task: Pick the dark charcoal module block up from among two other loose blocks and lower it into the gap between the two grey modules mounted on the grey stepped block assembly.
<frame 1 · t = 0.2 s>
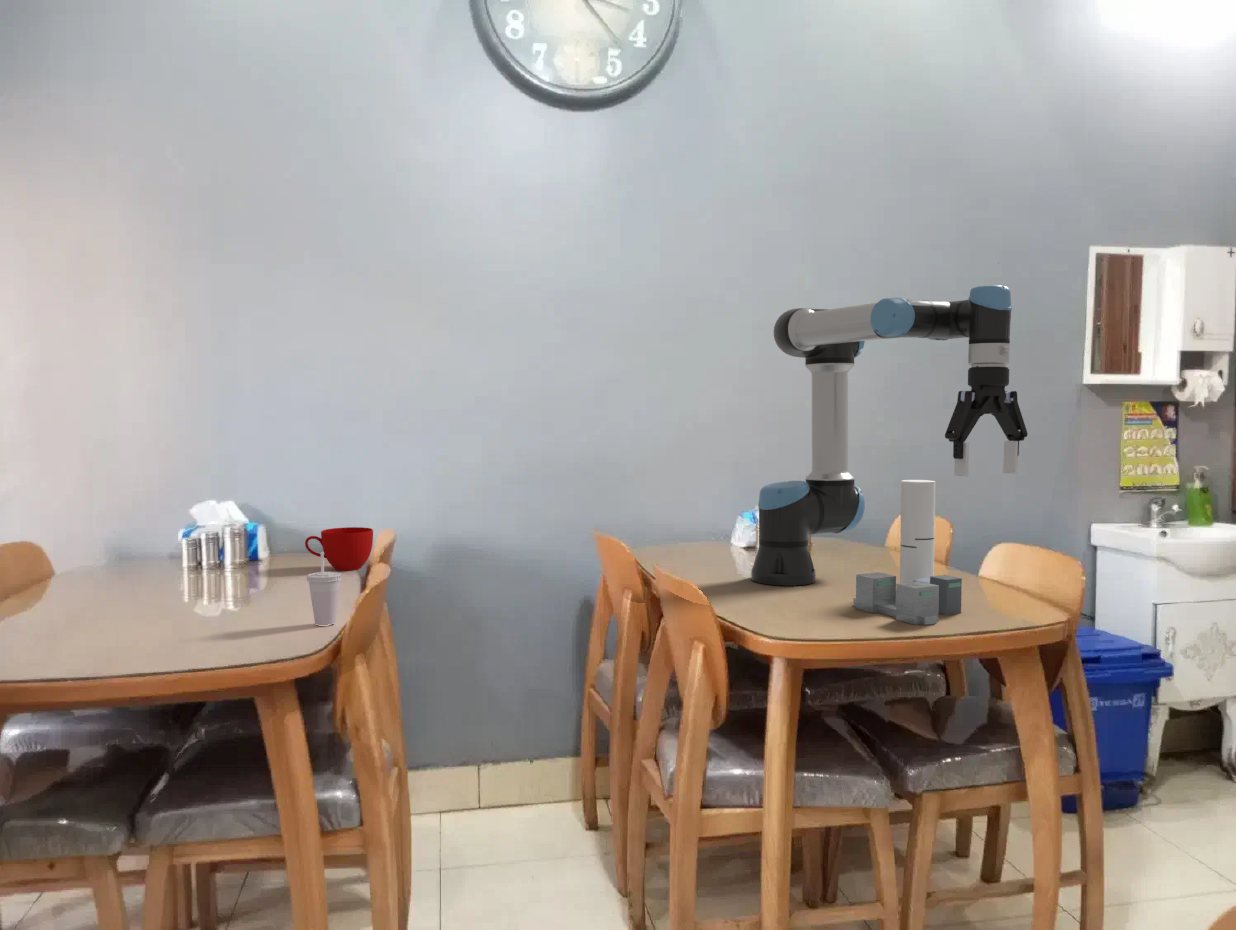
hand: (986, 474, 184), 28 cm above the table, fingers open, 13 cm apart
smoothie: (325, 625, 179), on the table
loose block white: (894, 605, 195), on the table
loose block slate: (930, 604, 196), on the table
module: (945, 611, 188), on the table
ceramic cup: (340, 569, 242), on the table
grey stepped block assembly: (893, 614, 186), on the table
cylindrical container: (916, 594, 206), on the table
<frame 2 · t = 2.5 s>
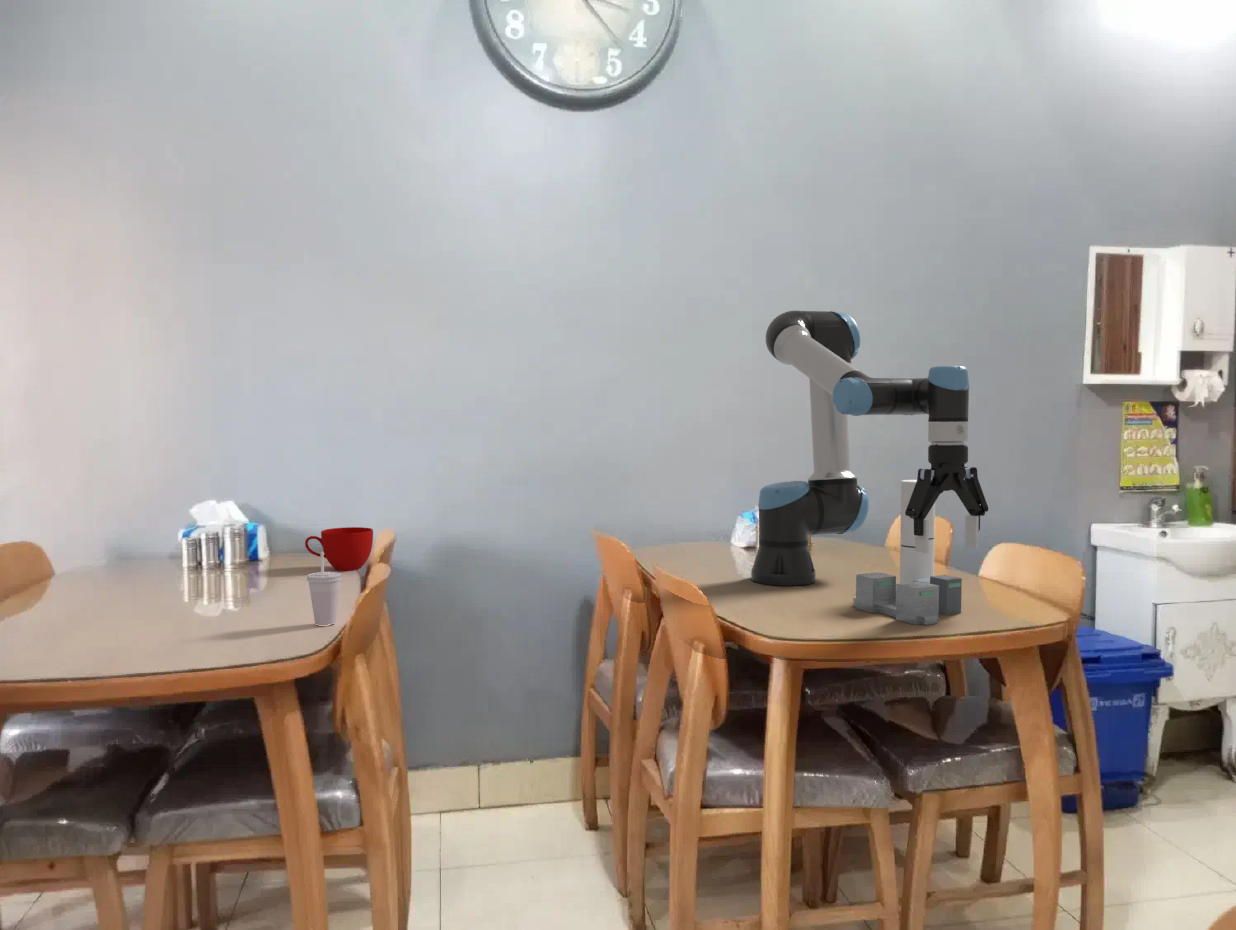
hand: (947, 549, 187), 13 cm above the table, fingers open, 13 cm apart
nothing on the table moved.
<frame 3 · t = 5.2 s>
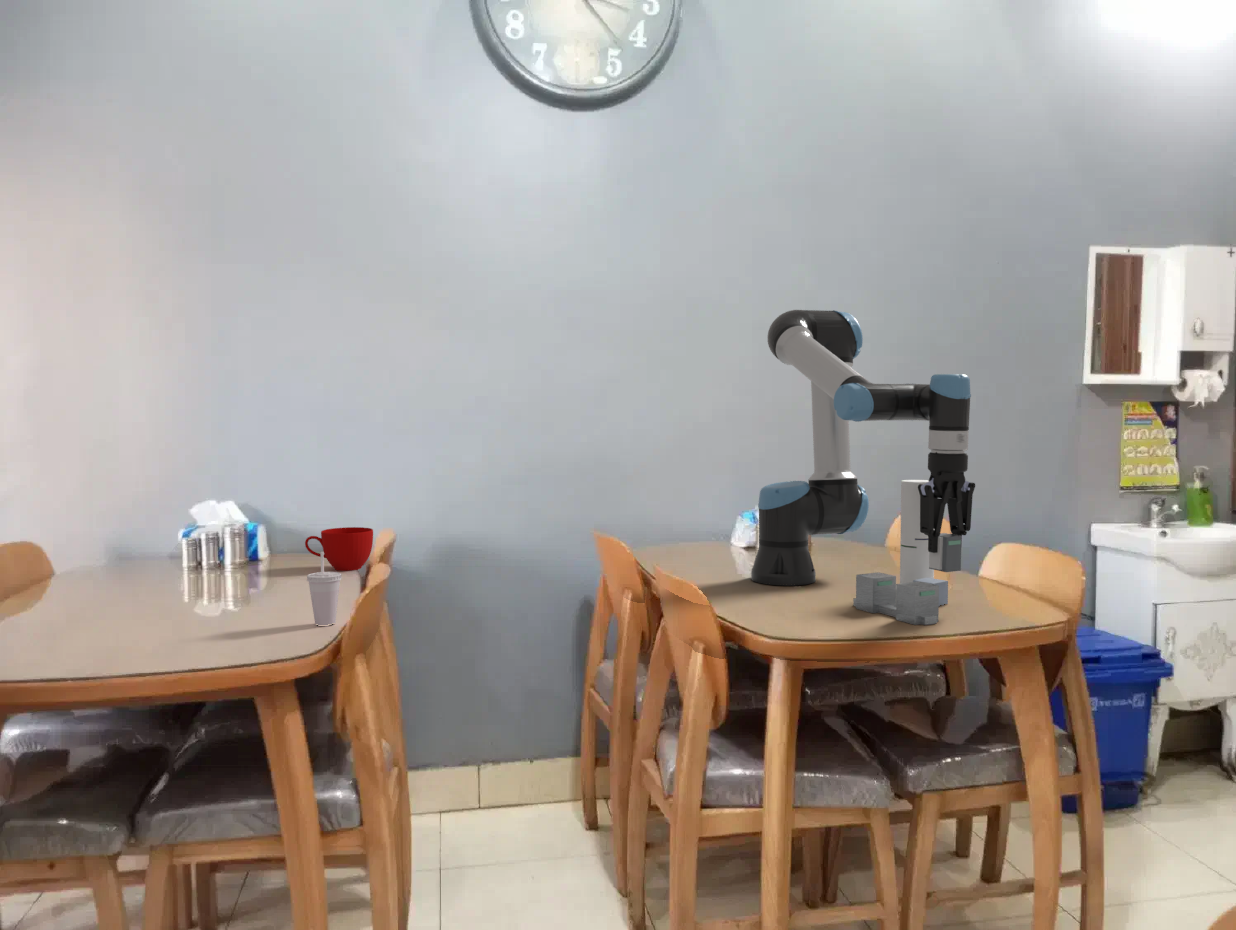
hand: (944, 567, 188), 9 cm above the table, fingers closed on module, 4 cm apart
module: (944, 569, 188), point 8 cm above the table, touching gripper
everything else where it was.
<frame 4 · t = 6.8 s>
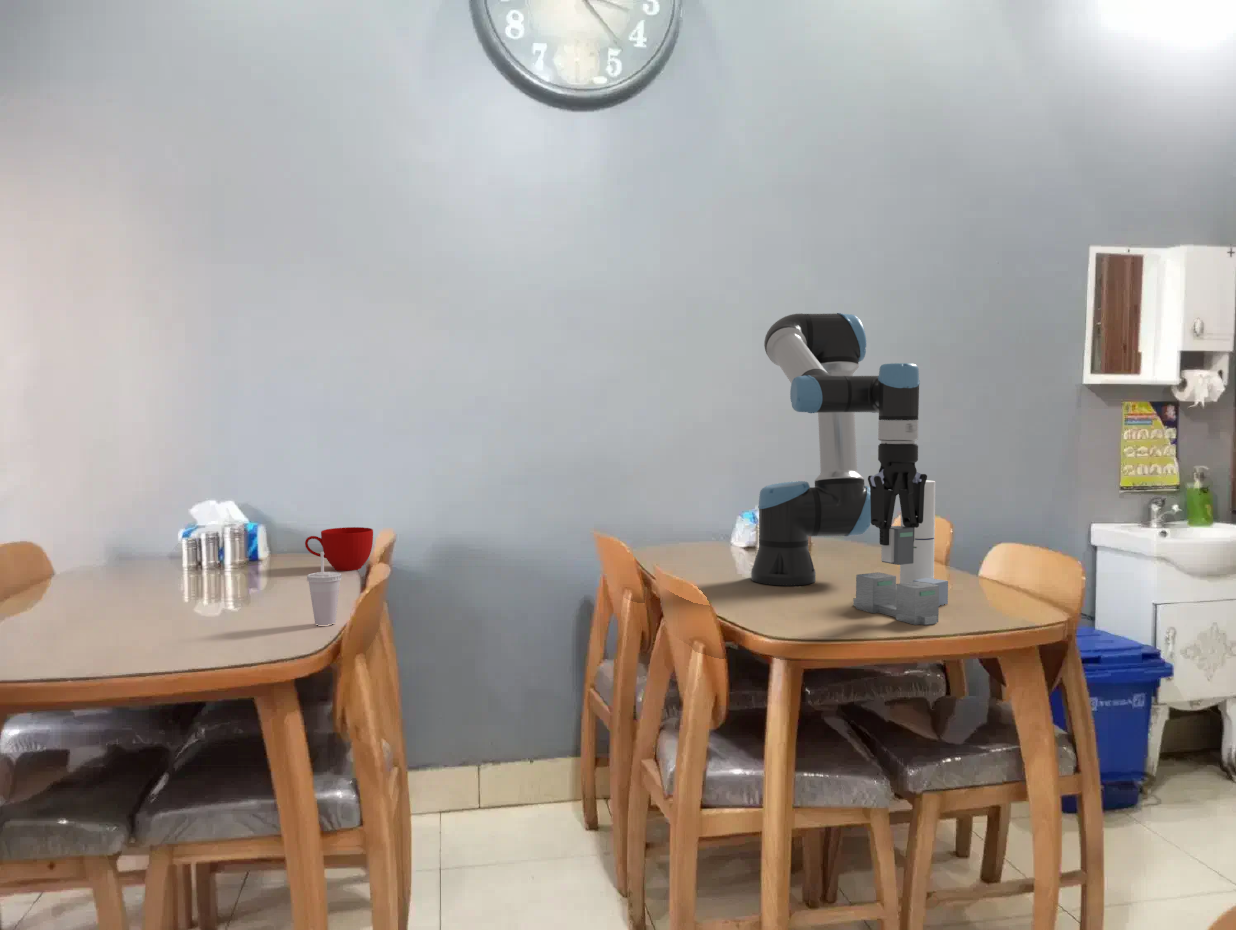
hand: (896, 560, 185), 11 cm above the table, fingers closed on module, 4 cm apart
module: (897, 562, 184), point 11 cm above the table, touching gripper
everything else where it was.
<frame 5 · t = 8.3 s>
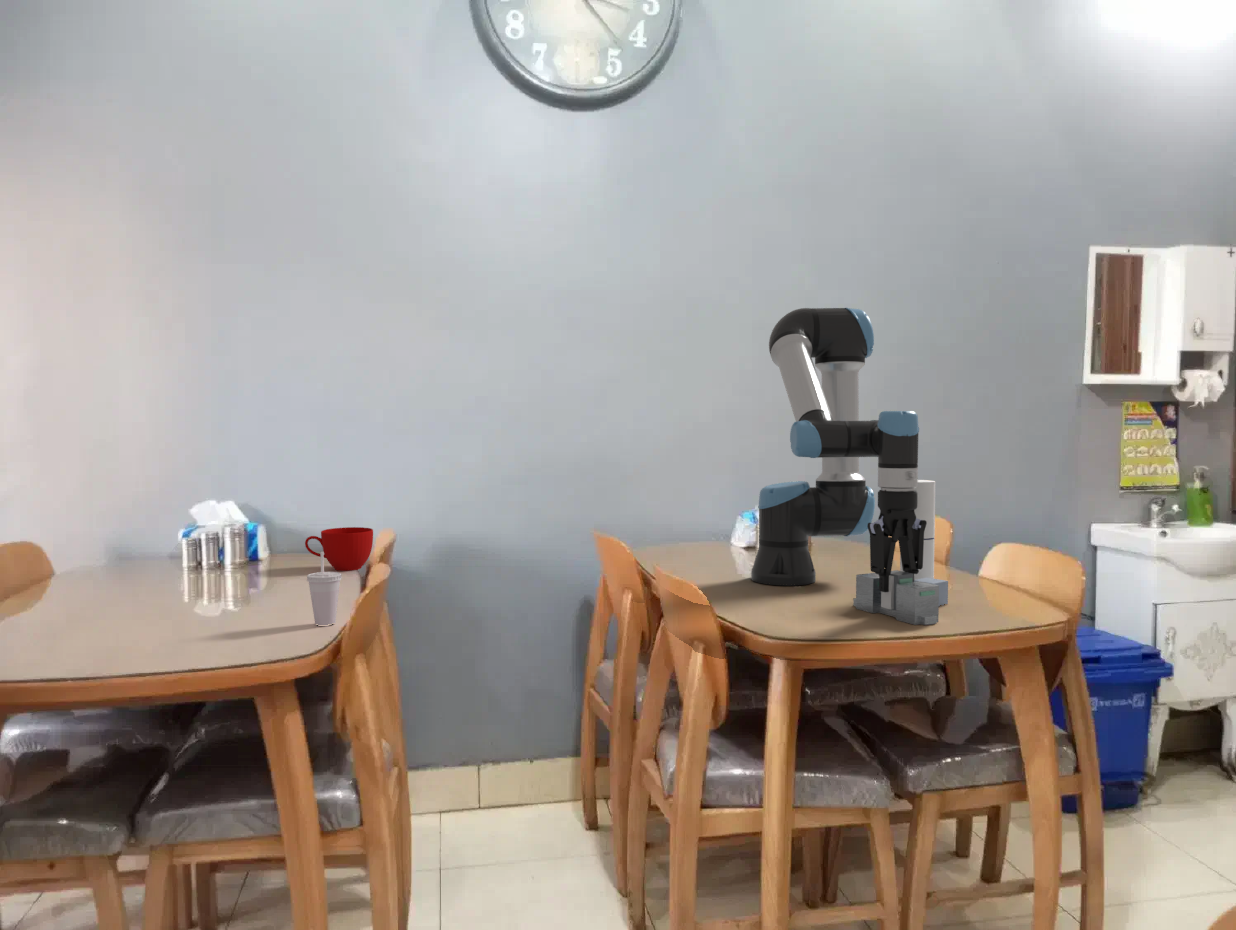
hand: (896, 606, 185), 2 cm above the table, fingers closed on module, 4 cm apart
module: (896, 607, 185), point 1 cm above the table, touching grey stepped block assembly, gripper
everything else where it was.
when the fingers open (1 cm above the table, at t = 8.6 s): module stays where it is, resting on grey stepped block assembly.
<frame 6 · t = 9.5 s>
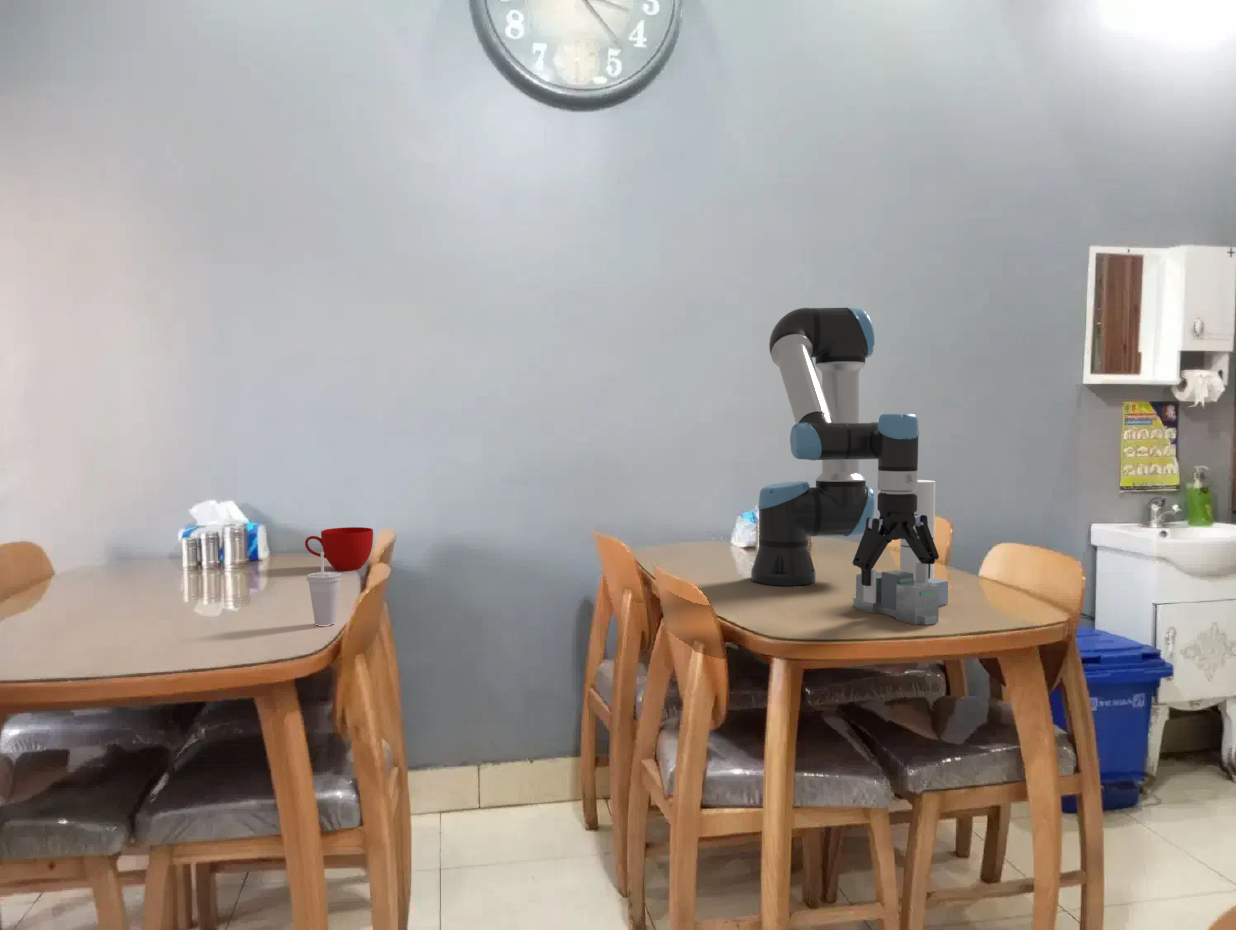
hand: (896, 598, 185), 3 cm above the table, fingers open, 13 cm apart
module: (896, 607, 185), point 1 cm above the table, touching grey stepped block assembly
everything else where it was.
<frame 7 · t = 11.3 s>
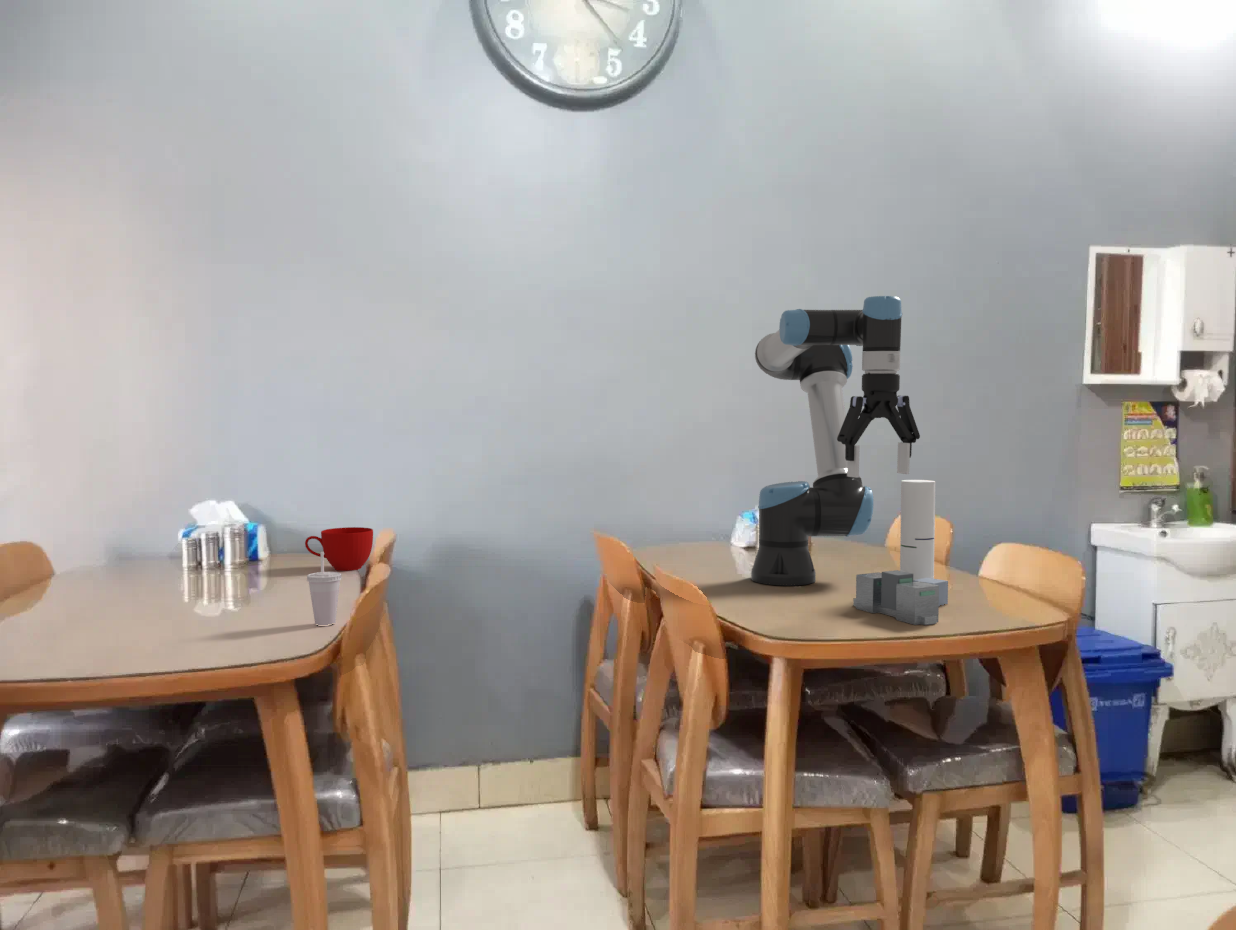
hand: (878, 475, 194), 27 cm above the table, fingers open, 13 cm apart
nothing on the table moved.
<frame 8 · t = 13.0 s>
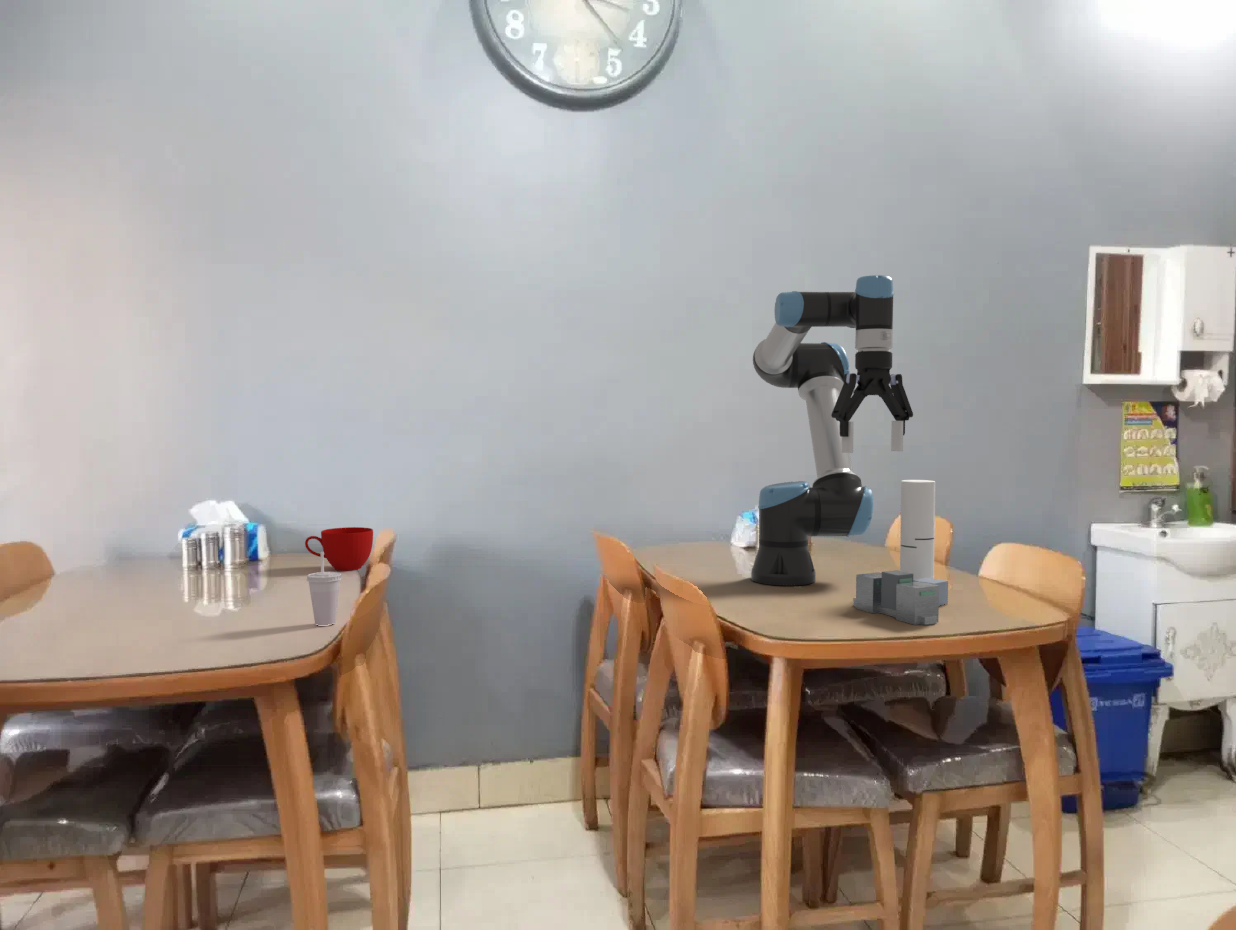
hand: (872, 452, 197), 32 cm above the table, fingers open, 13 cm apart
nothing on the table moved.
at the end: module 0.4 cm off-centre on the grey stepped block assembly, point 1.5 cm above the grey stepped block assembly's base; module tilted 0°; the gripper is holding nothing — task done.
